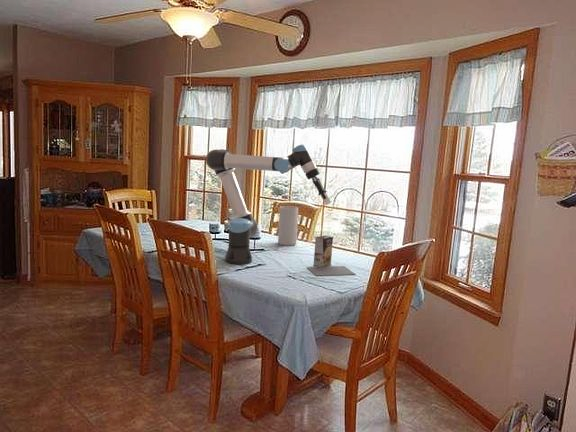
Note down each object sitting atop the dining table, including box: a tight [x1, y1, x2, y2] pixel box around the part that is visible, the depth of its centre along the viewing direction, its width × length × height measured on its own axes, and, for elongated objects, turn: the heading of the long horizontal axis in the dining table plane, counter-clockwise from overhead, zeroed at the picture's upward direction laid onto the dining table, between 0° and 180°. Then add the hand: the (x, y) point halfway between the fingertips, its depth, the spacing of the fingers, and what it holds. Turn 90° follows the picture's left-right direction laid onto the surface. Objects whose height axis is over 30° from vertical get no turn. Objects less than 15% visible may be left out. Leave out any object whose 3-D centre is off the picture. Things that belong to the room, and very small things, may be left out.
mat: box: [306, 265, 356, 277], centre depth 239 cm, size 22×16×1 cm
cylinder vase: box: [277, 205, 299, 247], centre depth 299 cm, size 12×12×25 cm
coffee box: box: [313, 235, 334, 267], centre depth 250 cm, size 9×6×16 cm
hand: (328, 204), depth 248 cm, fingers open, 13 cm apart
